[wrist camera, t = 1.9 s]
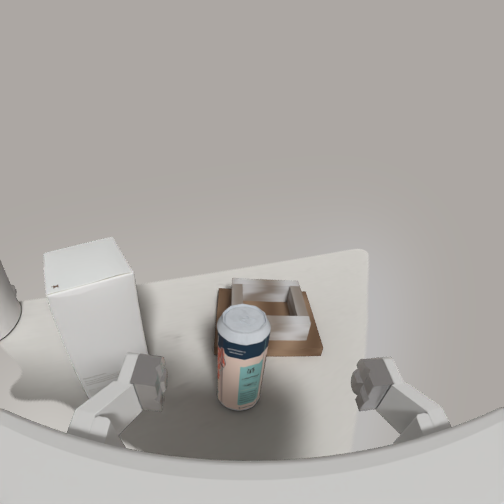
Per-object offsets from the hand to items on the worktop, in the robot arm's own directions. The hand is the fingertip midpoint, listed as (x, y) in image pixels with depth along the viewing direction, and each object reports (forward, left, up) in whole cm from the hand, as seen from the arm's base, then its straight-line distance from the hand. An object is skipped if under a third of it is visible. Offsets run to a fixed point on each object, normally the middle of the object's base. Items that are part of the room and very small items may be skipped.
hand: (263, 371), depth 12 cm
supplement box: (-16, +15, -20) cm, 30 cm away
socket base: (+4, +25, -19) cm, 32 cm away
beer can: (0, +12, -20) cm, 23 cm away
